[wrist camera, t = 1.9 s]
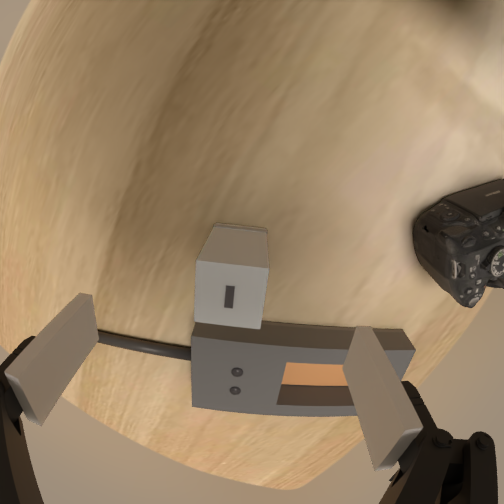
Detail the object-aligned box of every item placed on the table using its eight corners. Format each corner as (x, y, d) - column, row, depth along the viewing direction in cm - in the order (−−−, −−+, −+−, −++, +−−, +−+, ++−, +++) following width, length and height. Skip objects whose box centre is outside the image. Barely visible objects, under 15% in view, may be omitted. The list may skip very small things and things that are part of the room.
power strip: (92, 361, 30) (79, 381, 26) (78, 293, 27) (60, 311, 23) (374, 392, 30) (383, 414, 27) (402, 329, 27) (416, 350, 24)
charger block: (215, 222, 24) (194, 259, 16) (267, 227, 24) (270, 268, 16) (211, 269, 25) (193, 322, 18) (260, 275, 25) (261, 330, 18)
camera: (437, 301, 26) (490, 360, 17) (394, 227, 24) (458, 275, 14) (517, 221, 23) (579, 253, 14) (486, 142, 21) (562, 153, 11)
